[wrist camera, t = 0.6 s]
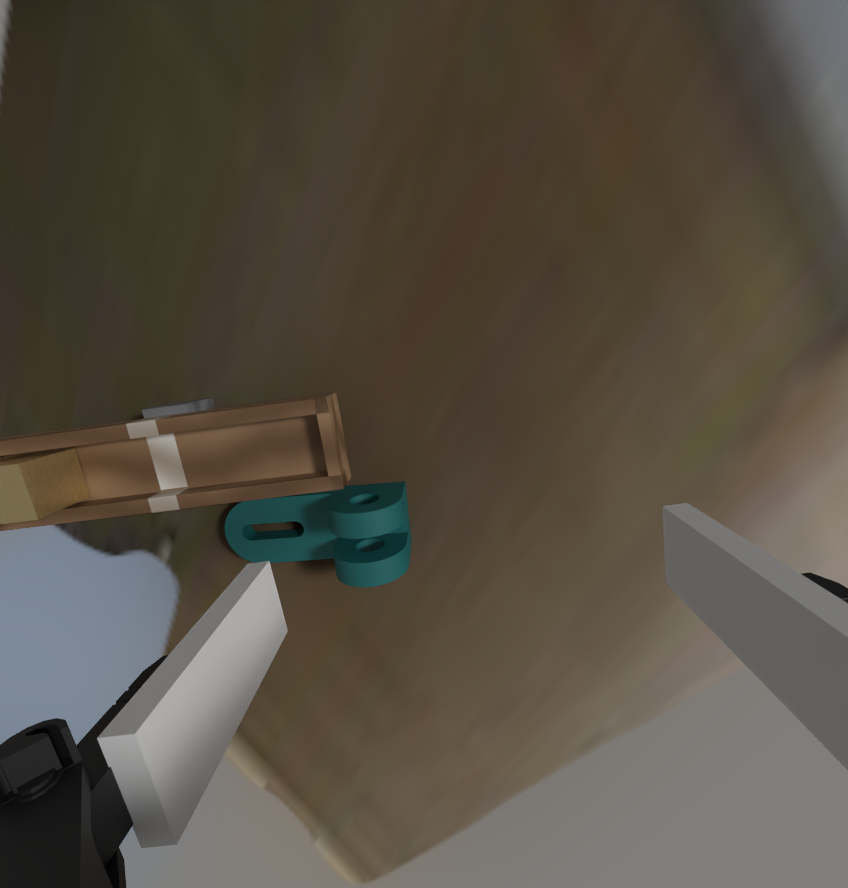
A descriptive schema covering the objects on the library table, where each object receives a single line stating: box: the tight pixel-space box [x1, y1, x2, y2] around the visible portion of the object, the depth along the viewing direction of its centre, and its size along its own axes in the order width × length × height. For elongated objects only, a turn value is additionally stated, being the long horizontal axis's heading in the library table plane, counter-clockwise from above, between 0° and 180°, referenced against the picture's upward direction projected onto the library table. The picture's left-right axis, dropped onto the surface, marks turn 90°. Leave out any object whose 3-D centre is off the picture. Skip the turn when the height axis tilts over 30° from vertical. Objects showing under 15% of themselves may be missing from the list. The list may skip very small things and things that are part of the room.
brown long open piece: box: [0, 393, 351, 531], centre depth 38 cm, size 9×30×8 cm, turn 98°
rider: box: [0, 448, 90, 524], centre depth 34 cm, size 4×5×5 cm
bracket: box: [225, 482, 411, 587], centre depth 40 cm, size 18×7×8 cm, turn 95°
